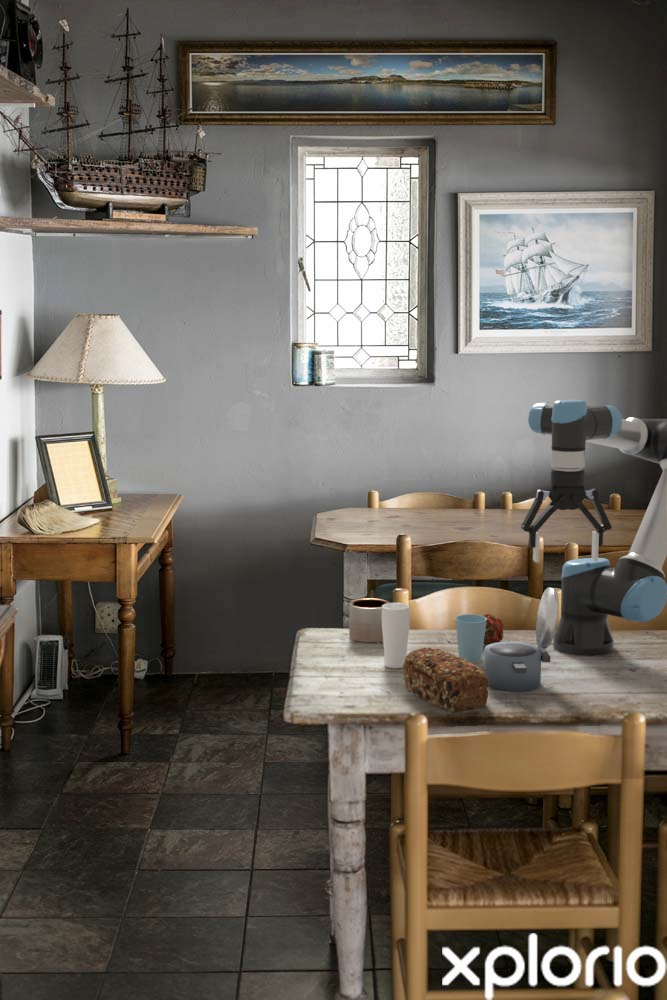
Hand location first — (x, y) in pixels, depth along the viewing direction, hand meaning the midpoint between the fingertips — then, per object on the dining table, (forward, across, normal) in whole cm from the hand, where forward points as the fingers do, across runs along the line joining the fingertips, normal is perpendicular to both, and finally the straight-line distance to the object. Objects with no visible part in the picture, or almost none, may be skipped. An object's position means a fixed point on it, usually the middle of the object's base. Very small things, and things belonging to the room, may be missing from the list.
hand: (565, 560), depth 256 cm
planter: (+29, +42, -38) cm, 63 cm away
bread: (+29, +29, +10) cm, 42 cm away
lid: (+13, +5, +1) cm, 14 cm away
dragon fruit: (+29, +12, -31) cm, 44 cm away
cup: (+29, +18, -18) cm, 39 cm away
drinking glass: (+29, +38, -14) cm, 49 cm away
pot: (+28, +12, +1) cm, 31 cm away
